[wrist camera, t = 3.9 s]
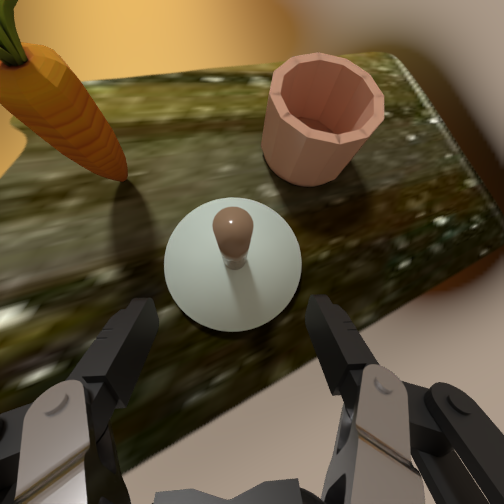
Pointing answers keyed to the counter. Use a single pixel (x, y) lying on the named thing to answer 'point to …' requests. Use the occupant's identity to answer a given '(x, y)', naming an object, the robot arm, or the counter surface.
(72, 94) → the carrot
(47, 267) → the counter surface
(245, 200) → the celadon lid
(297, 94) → the terracotta pot
